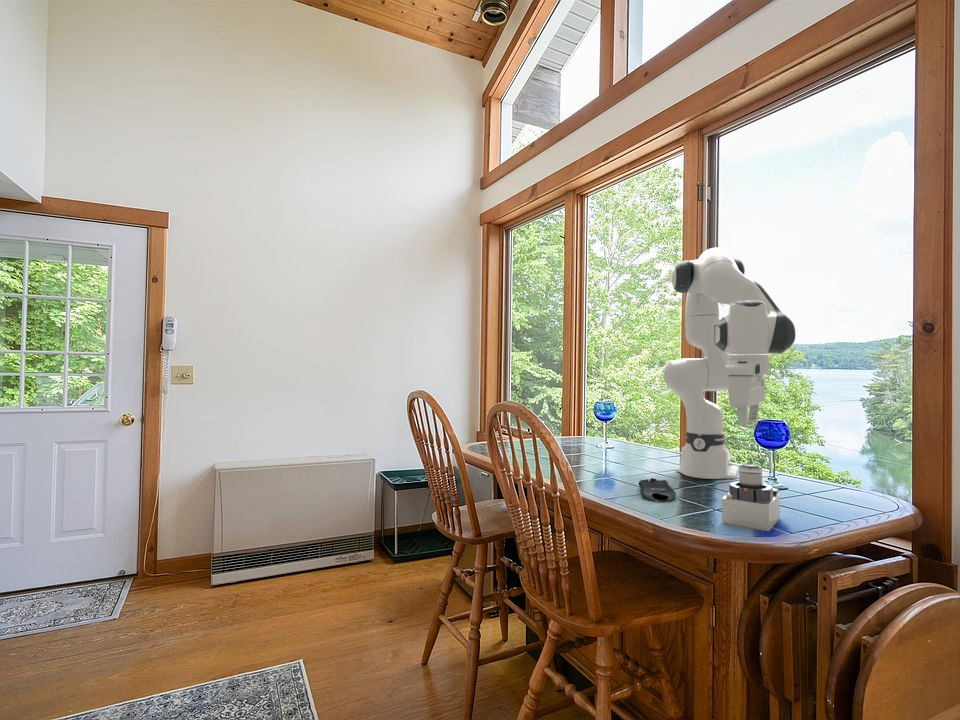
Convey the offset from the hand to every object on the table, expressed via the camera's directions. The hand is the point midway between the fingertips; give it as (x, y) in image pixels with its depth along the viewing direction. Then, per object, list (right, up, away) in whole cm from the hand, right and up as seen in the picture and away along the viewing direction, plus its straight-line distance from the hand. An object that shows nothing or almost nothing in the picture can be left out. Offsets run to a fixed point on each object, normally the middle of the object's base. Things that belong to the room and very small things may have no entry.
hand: (748, 423), depth 130 cm
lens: (0, -17, -1) cm, 17 cm away
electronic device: (-14, -24, +24) cm, 37 cm away
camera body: (0, -23, -1) cm, 23 cm away
